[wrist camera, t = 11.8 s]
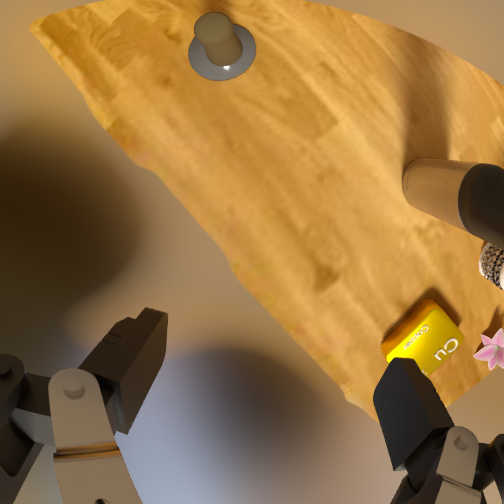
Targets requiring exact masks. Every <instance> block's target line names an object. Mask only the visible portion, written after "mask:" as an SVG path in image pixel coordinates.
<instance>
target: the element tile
mask: <svg viewBox="0 0 504 504" xmlns="http://www.w3.org/2000/svg"><path fill="white" fill-rule="evenodd" d="M463 341H464V335H463V333H462V332H461V331H460V330H459V329H458V327H457V326H456V325H455V324H454V323H453V321H452V320H451V319H450V318H449V317H448V316H447V314H446V313H445V312H444V311H443V310H442V309H441V308H440V307H439V306H438V305H437V304H436V302H435V301H433V300H432V299H427V300H425V301H423V302H422V303H421V304H420V305H419V306H418V307H417V308H416V309H415V310H414V311H413V313H412V314H411V315H410V316H409V317H408V318H407V319H406V320H405V321H404V322H403V323H402V324H401V325H400V326H399V327H398V328H397V329H396V330H395V331H394V332H393V333H392V334H391V335H390V336H388V337H387V338H386V339H385V340H384V341H383V343H382V344H381V351H382V353H383V355H384V357H385V360H386V361H387V363H390V362H391V360H392V359H393V358H394V357H402V358H412V359H414V360H415V361H416V363H417V365H418V366H419V368H420V370H421V372H422V373H423V374H424V375H425V376H426V377H427V378H428V377H429V376H430V375H431V374H432V373H433V372H434V371H435V370H436V369H437V368H439V367H440V366H441V365H442V364H443V363H444V362H445V361H446V360H447V359H448V358H449V357H450V356H451V355H452V354H453V353H454V352H455V351H456V350H457V349H458V348H459V347H460V346H461V344H462V343H463Z"/></svg>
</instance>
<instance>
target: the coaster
mask: <svg viewBox="0 0 504 504" xmlns="http://www.w3.org/2000/svg"><path fill="white" fill-rule="evenodd" d="M233 32H234V34H235V35H236V36H237V37H238V39H239V40H240V41H241V43H242V45H243V53H242V56H241V57H240V59H239V60H238V61H237V62H235V63H234V64H232V65H229V66H216V65H214V64H212V63H211V62H210V61H209V60H208V58H207V56H206V52H205V48H204V45H203V43H201V42H200V41H199V40H198V39H197V38H196V37H195V38H194V39H193V41H192V42H191V44H190V47H189V53H188V56H189V61H190V64H191V66H192V68H193V69H194V70H195V71H196V72H197V73H198V74H199V75H201V76H202V77H204V78H206V79H210V80H215V81H224V80H229V79H233V78H235V77H237V76H239V75H241V74H242V73H244V72H245V71H246V70H247V69H248V68H249V67H250V66H251V64H252V63H253V61H254V58H255V55H256V45H255V41H254V39H253V37H252V35H251V34H250V33H249V32H248V31H247V30H246V29H244V28H243V27H241V26H238V25H236V24H233Z"/></svg>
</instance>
